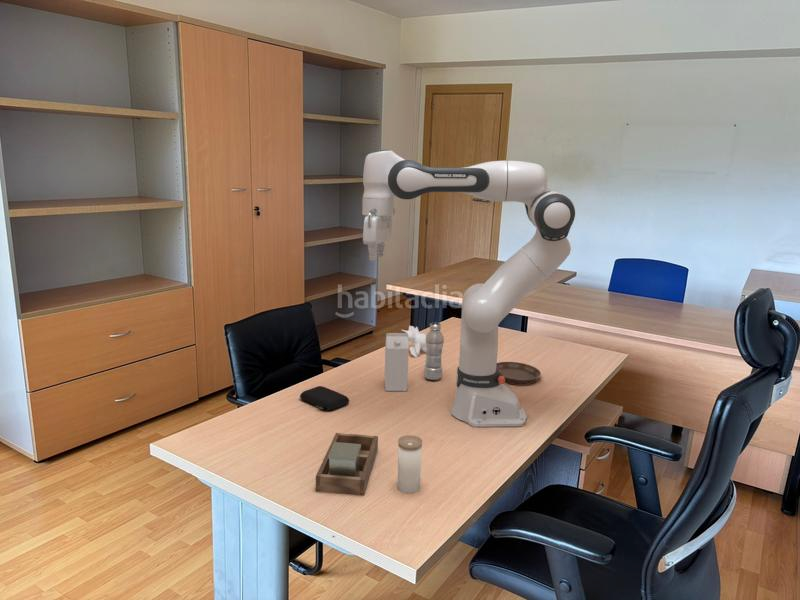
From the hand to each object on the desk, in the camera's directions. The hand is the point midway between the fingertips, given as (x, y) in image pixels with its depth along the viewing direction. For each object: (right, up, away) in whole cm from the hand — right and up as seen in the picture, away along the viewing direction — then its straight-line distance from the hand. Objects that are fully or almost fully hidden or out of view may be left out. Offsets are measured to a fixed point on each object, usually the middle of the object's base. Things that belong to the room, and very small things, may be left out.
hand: (376, 258), depth 162 cm
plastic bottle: (+18, -40, +38) cm, 57 cm away
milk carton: (+5, -41, +29) cm, 51 cm away
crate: (-6, -54, -24) cm, 59 cm away
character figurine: (+13, -33, +63) cm, 73 cm away
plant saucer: (+48, -40, +42) cm, 75 cm away
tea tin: (-6, -54, -29) cm, 62 cm away
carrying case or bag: (-17, -44, +16) cm, 50 cm away
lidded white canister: (+9, -56, -31) cm, 65 cm away
